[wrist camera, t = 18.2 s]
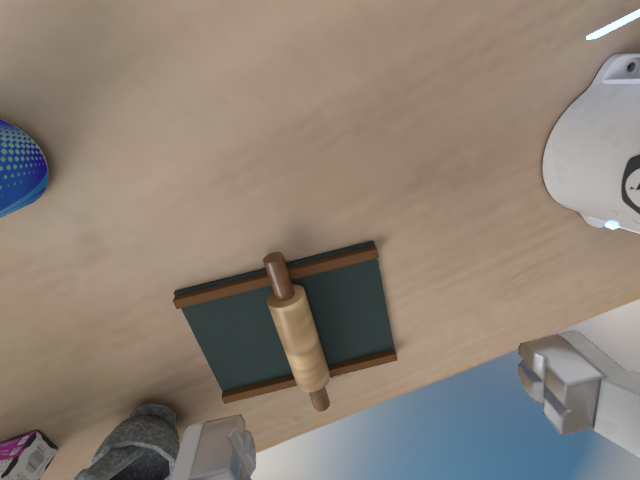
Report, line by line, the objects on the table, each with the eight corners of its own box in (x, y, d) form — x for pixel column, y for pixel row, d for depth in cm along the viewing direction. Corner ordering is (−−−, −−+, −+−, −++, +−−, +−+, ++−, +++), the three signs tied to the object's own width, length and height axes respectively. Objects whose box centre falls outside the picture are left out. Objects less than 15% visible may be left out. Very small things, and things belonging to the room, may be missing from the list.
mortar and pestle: (203, 425, 50) (181, 520, 39) (151, 451, 51) (115, 550, 40) (150, 376, 46) (108, 468, 35) (94, 406, 47) (36, 504, 36)
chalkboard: (373, 240, 41) (376, 245, 39) (394, 354, 48) (398, 362, 47) (174, 291, 41) (171, 298, 39) (227, 396, 48) (225, 405, 47)
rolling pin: (292, 243, 39) (293, 261, 35) (335, 387, 49) (340, 414, 45) (254, 253, 39) (251, 272, 35) (305, 395, 49) (307, 423, 45)
